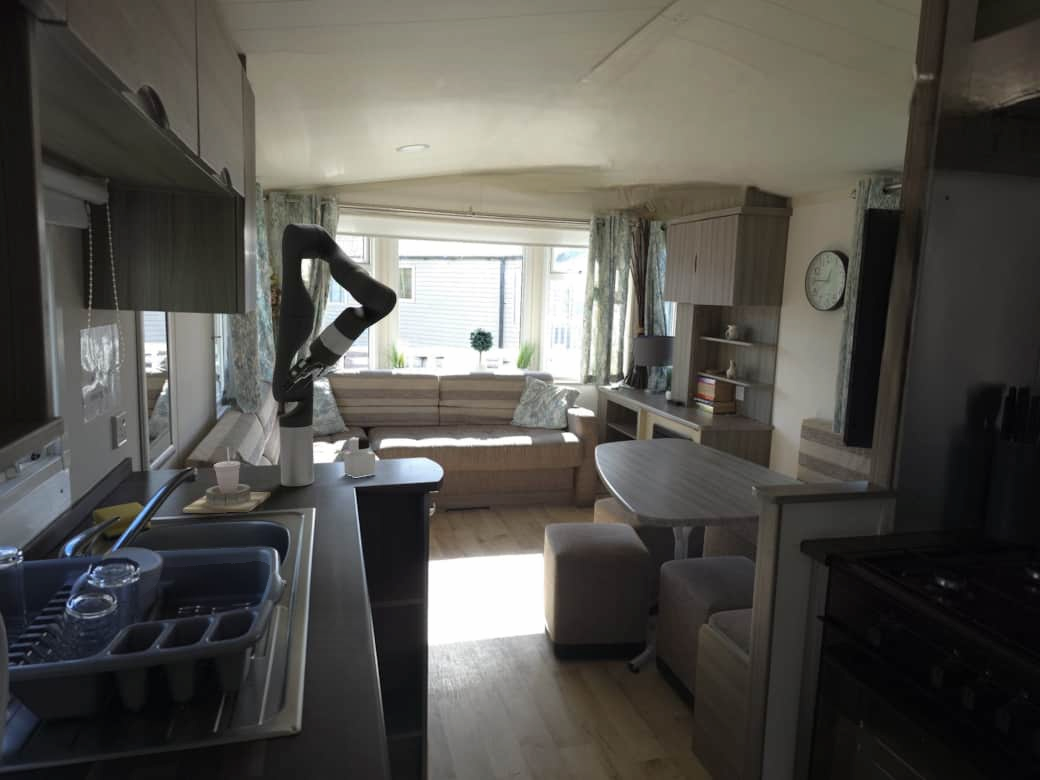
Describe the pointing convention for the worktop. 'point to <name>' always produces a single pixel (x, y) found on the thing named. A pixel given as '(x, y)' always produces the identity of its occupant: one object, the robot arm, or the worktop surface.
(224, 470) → the smoothie
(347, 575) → the worktop surface
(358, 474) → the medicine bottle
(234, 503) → the collar stand
